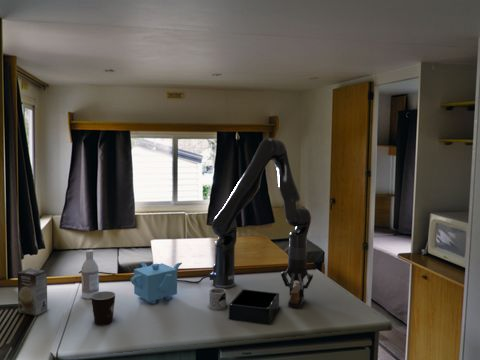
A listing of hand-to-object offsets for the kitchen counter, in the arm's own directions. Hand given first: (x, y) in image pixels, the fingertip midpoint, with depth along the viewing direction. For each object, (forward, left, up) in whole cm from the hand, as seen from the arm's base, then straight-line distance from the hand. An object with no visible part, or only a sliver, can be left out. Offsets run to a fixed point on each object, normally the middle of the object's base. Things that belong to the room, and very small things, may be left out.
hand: (296, 296), depth 180 cm
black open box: (-14, -15, -3) cm, 21 cm away
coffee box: (-97, -41, -3) cm, 105 cm away
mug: (-30, -12, -3) cm, 32 cm away
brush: (0, 0, -3) cm, 3 cm away
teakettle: (-58, -12, -3) cm, 59 cm away
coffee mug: (-65, -39, -3) cm, 76 cm away
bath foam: (-86, -20, -3) cm, 88 cm away
